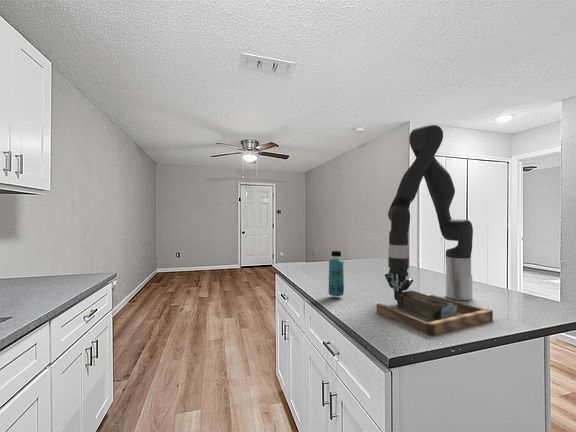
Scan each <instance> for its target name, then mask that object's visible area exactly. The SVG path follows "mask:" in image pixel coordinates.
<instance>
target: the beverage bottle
mask: <svg viewBox="0 0 576 432" xmlns="http://www.w3.org/2000/svg"><path fill="white" fill-rule="evenodd" d="M331 256H332V257H334V258H331V259H330V260H329V261H328V275H327V276H328V278H327V279H328V287H327V288H328V295H329V296H332V297H342V296H343V295H344V292H345V291H344V290H345V281H344V279H345V278H344V277H345V274H344V260H343V259H342V258H335V257H342V252H341V251H340V250H332V251H331Z"/></svg>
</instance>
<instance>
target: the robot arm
mask: <svg viewBox="0 0 576 432" xmlns="http://www.w3.org/2000/svg"><path fill="white" fill-rule="evenodd" d="M443 139H444V131H443V130H442V127H441V126H439V125H438V124H429V125H423V126H419V127H416V128H414V129H412V130H411V132H410V133H409V137H408V140H409V145H410V148H411V151H412V153H413V154H414V157H415V160H414V161H413V162H412V164H411V165H410V166H409V168H408V169H407V170H406V172H405V173H404V174H403V176H402V178H401V181H400V183H399V185H398V187H397V190H396V194H395V197H394V198H393V200H392V202H391V204H390V207H389V208H388V211H387V217H388V219H389V221H390V231H389V235H388V236H389V237H388V251H387V254H388V255H387V256H388V257H387V258H388V259H387V261H388V262H387V264H388V266H387V268H389V270H388V272H387V273H385V274H384V277H385V279H386V281H387V284H388V285H389V287H390V288H391V289H392V290H393V292H394V293H393V297H394V301H397V293H401V292H405V291H408V290H409V288H410V286H411V285H412V284H413V282H414V279H413V278H410V276H409V273H408V270H409V269H410V268H409V266H410V262H409V261H410V260H409V258H410V250H409V230H410V223H411V213H410V210H409V208H410V206H411V204H412V203H413V202H414V200H415V198H416V196H417V194H418V190H419V188H420V185H421V182H422V180H423V178H424V180H425V183H426V187H427V190H428V192H429V195H430V198H431V201H432V203H433V207H434V209H435V213H436V217H437V221H438V222H437V223H438V224H439V230H440V233H441V236H442V237H443V239H444V240H446V241H453V242H454V241H455V242H457V245H456V246H455V247H452V248H448V249H446V250H445V292H446V293H445V296H446V298H448V299H451V300H455V301H457V300H458V301H470V300H472V298H473V275H472V251H473V237H474V236H473V235H474V227H473V223H472V222H471V221H470V220H469V219H459V218H457V219H455V218H454V219H453V218H452V216H451V213H450V207H451V205H452V202H453V200H454V197H455V193H456V188H455V185H454V182H453V179H452V176H451V175H450V173H449V172H448V171H447V169H446V168H445V167H444V166H443V165H442V164H441V163H440V161H438V160H437V158H436V154H437V152H438V150H439V149H440V146H441V144H442V143H443Z"/></svg>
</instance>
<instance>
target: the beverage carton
mask: <svg viewBox="0 0 576 432" xmlns="http://www.w3.org/2000/svg"><path fill="white" fill-rule="evenodd" d="M396 303H397V305H396V306H397V307H396V308H397V309H400V310H402V311H405V312H408V313H411V314H413V315H415V316H417V317H420V318H423V319H426V320H427V321H429V322H432V321H436V320H441V319H445V318H450V317H454V316H458V311H457V305H456V304H453V303H450V302H446V301H444V300H440V299H437V298H434V297H431V296H430V295H427V294H424V293H421V292H419V291H418V292H417V291H415V290H405V291H403V292H401V293H397V300H396Z"/></svg>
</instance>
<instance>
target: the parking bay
mask: <svg viewBox="0 0 576 432" xmlns="http://www.w3.org/2000/svg"><path fill="white" fill-rule="evenodd" d="M429 296H431V297H434V298H437V299H440V300H444V301H446V302H450V303H453V304H456V305H457V312H460V313H462V314H460V315H457V316H454V317H450V318H445V319H441V320H436V321H426V320H423V319H420V318H418V317H416V316H413V315H410V314H407V313H405V312H403V311H399V310H398V309H394V308H392V307H389V306H388V305H385V304H382V303H376V314H379V315H381V316H384V317H386V318H388V319H391V320H393V321H395V322H398V323H400V324H402V325H404V326H407V327H409V328H411V329H414V330H416V331H419V332H421V333H423V334H425V335H427V336H429V337H433V336H434V337H435V336H438V335H441V334H446V333H449V332H453V331H458V330H461V329H465V328H469V327H474V326H476V325H481V324H484V323H488V322H493V320H494V318H493V315H494V313H493V312H494V311H493V310H492V309H489V308H482V307H479V306H478V307H477V306H474V305H470V304H467V303H463V302H461V301H457V300H454V299H451V298H447V297H442V296H438V295H435V294H430V295H429Z"/></svg>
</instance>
